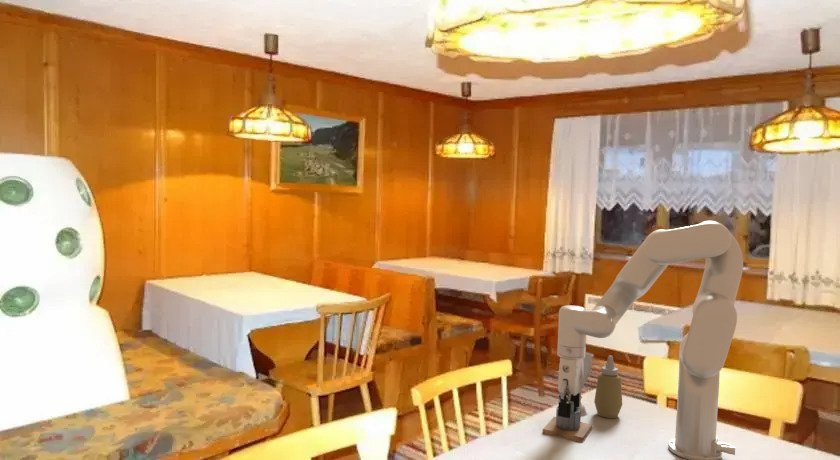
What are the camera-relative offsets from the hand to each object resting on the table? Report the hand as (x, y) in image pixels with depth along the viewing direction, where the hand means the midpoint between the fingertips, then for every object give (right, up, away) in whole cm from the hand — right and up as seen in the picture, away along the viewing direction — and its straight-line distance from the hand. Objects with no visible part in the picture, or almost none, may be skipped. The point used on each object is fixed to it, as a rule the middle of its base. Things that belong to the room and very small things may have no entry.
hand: (568, 411), depth 168 cm
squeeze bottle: (+15, -5, +14) cm, 21 cm away
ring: (0, -4, 0) cm, 4 cm away
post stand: (0, -6, 0) cm, 6 cm away
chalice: (+7, -5, +15) cm, 17 cm away
